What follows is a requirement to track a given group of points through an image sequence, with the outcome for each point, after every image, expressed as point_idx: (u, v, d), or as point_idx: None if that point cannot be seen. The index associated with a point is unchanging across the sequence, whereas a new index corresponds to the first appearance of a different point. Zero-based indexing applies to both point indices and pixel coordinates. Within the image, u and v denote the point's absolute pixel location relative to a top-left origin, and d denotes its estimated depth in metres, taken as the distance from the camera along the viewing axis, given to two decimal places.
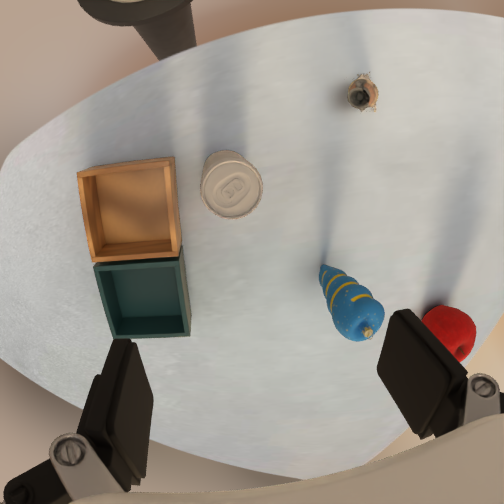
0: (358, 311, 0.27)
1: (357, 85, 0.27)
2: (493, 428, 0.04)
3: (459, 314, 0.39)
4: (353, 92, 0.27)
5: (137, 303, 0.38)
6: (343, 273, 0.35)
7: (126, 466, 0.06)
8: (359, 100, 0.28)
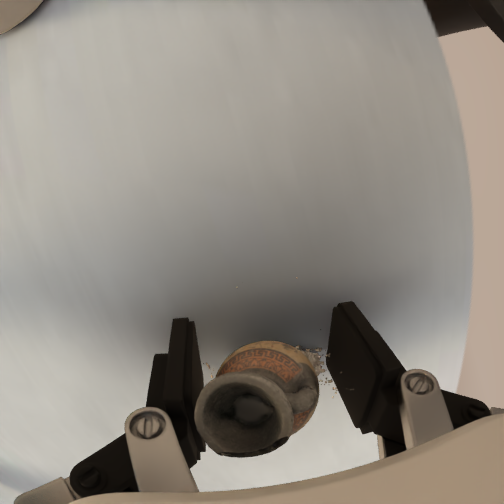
0: None
1: (299, 401, 0.07)
2: (493, 428, 0.04)
3: None
4: (268, 396, 0.06)
5: None
6: None
7: (193, 439, 0.08)
8: (235, 406, 0.07)
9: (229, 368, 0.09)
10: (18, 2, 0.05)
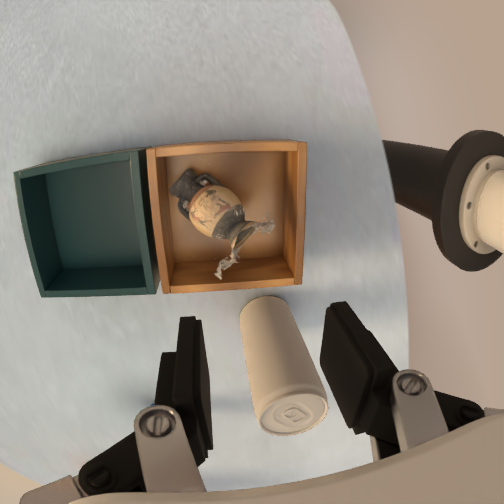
0: None
1: None
2: (493, 428, 0.04)
3: None
4: None
5: (70, 197, 0.21)
6: None
7: (202, 437, 0.08)
8: None
9: None
10: None
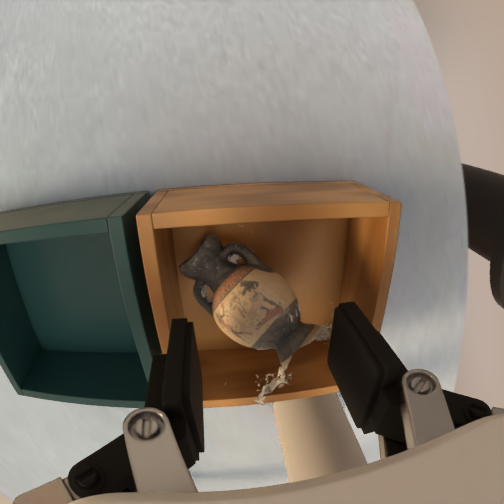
0: None
1: None
2: (493, 428, 0.04)
3: None
4: None
5: (37, 263, 0.14)
6: None
7: (191, 439, 0.08)
8: None
9: None
10: None
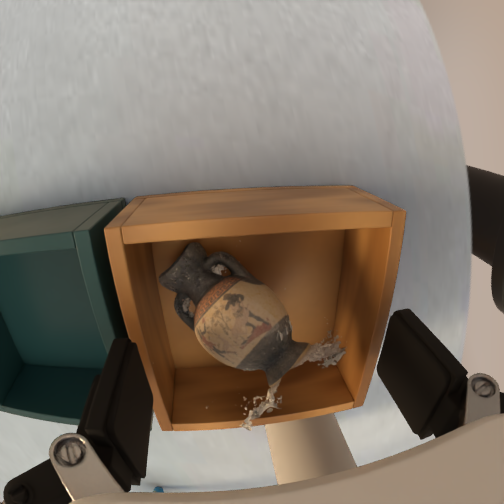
0: None
1: None
2: (493, 428, 0.04)
3: None
4: None
5: (13, 275, 0.13)
6: None
7: (126, 466, 0.06)
8: None
9: None
10: None
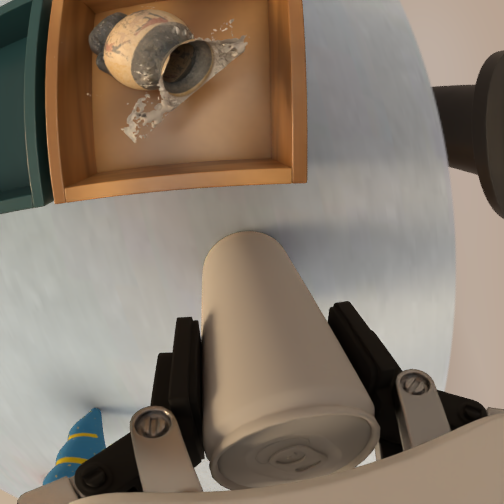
0: None
1: None
2: (493, 428, 0.04)
3: None
4: None
5: None
6: None
7: (198, 437, 0.08)
8: None
9: None
10: None
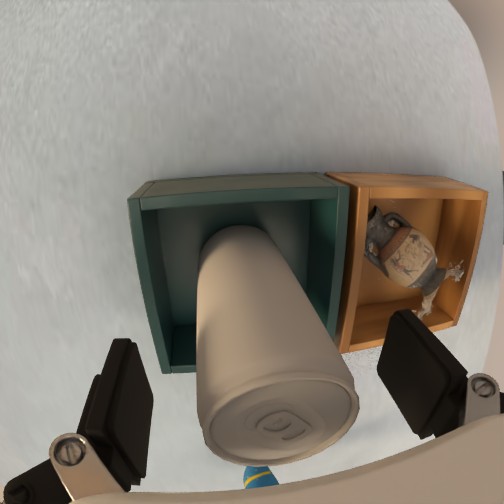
0: None
1: None
2: (493, 428, 0.04)
3: None
4: None
5: (197, 233, 0.18)
6: None
7: (126, 466, 0.06)
8: None
9: None
10: None
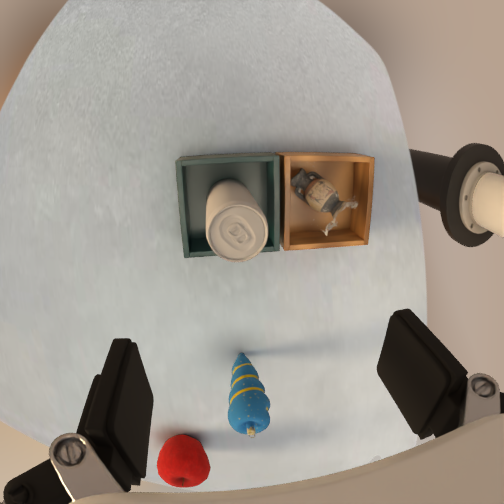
0: (265, 417, 0.31)
1: None
2: (493, 428, 0.04)
3: (209, 466, 0.45)
4: None
5: (206, 184, 0.33)
6: None
7: (125, 466, 0.06)
8: None
9: None
10: None
